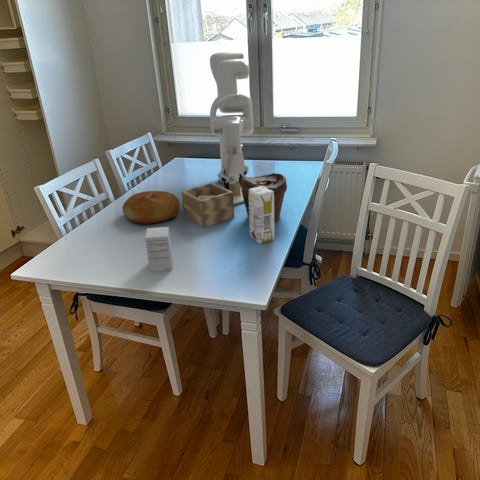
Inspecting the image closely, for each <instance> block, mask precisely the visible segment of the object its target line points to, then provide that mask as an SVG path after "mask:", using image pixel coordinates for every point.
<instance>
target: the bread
mask: <svg viewBox="0 0 480 480" xmlns="http://www.w3.org/2000/svg"><path fill="white" fill-rule="evenodd" d="M180 204H181V203H180V200H179V198H178V196H177V195H175V194H174V193H171V192H168V191H163V190H162V191H161V190H150V191H141V192H137V193H135V194H132V195H131V196H129V197H127V199H126V200H125V201H124V202H123V205H122V209H121V210H122V213H123V215H124V217H126V218H127V220H129V221H131V222H134V223H136V224H147V225H148V224H155V223H156V224H157V223H161V222H165V221H168V220H170V219H173V218H174V217H176V216H177V215H178V214H179V213H180V208H181V205H180Z"/></svg>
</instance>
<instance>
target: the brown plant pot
mask: <svg viewBox="0 0 480 480" xmlns="http://www.w3.org/2000/svg"><path fill="white" fill-rule="evenodd" d="M260 186H265V187H266V188H267V189H269V190H272V191H274V223H275V222H277V221H278V220H279V219H280V217H281V212H282V207H283V203H284V197H285V193H286V192H287V190H288V183H287V178H286V177H285V175H284V174H281V173H270V174H265V175H261V176H260V175H259V176H254V177H251V176H250V177H249V176H247V177H245V178H242V179H241V187H240V188H242V190H241V192H242V194H243V199H244V207H245V211H246V215H247V219H248V220H249V189H251V188H255V187H260Z"/></svg>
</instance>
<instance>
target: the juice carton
mask: <svg viewBox="0 0 480 480" xmlns="http://www.w3.org/2000/svg"><path fill="white" fill-rule="evenodd" d="M248 221H249V234H250V235H249V236H250V238H252V239H253V240H254V241H255V242H256V243H258V244H259V245H261V244H265V243H267V242H272V241H274V240H275V222H274V191H272V190H269V189H267V188H266V187H265V186H260V187H255V188H251V189H249V219H248Z"/></svg>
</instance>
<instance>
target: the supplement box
mask: <svg viewBox="0 0 480 480" xmlns="http://www.w3.org/2000/svg"><path fill="white" fill-rule="evenodd" d="M144 241H145V248H146V255H147V260H148V267H149V268H148V269H149V272H151V273H154V272H156V273H157V272H165V271H167V272H168V271H169V272H170V271H172V270H173V263H174V262H173V261H174V257H173V251H172V250H173V249H172V243H171V242H172V241H171V235H170V228H169V226H161V227H150V228H146V230H145V236H144Z"/></svg>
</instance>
